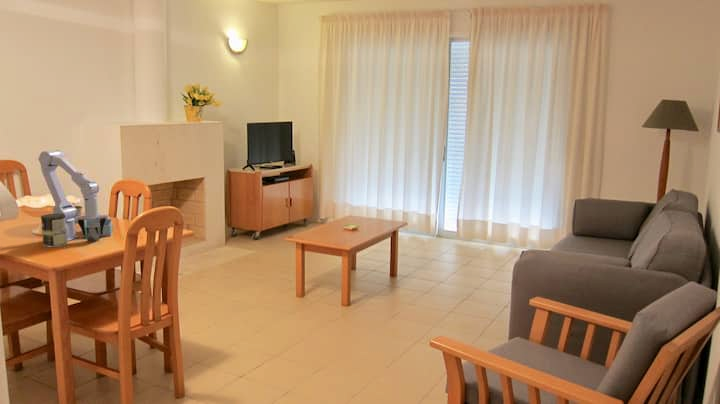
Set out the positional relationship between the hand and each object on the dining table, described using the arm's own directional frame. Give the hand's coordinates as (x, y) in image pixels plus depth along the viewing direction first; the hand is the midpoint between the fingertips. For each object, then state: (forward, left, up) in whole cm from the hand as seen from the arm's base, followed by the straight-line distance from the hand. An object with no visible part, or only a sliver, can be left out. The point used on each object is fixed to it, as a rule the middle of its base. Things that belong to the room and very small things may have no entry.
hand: (92, 234), depth 284 cm
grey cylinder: (0, 0, -3) cm, 3 cm away
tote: (+16, +7, -3) cm, 17 cm away
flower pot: (+37, +35, -3) cm, 51 cm away
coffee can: (-10, +13, -3) cm, 17 cm away
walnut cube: (+12, +4, -3) cm, 13 cm away
